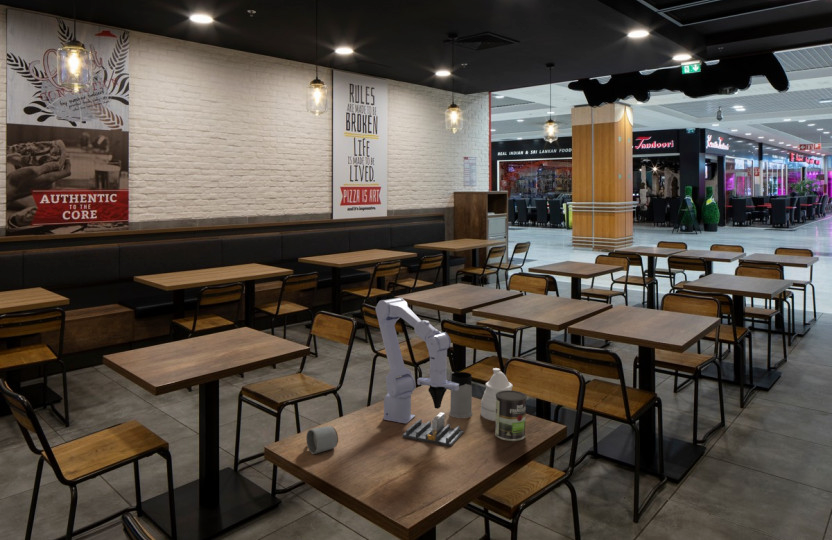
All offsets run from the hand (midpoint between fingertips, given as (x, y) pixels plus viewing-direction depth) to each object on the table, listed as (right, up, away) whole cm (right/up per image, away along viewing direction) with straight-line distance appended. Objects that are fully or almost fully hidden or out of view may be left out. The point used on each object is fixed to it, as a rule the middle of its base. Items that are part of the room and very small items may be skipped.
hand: (437, 407), depth 196 cm
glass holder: (+8, -7, +22) cm, 24 cm away
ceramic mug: (-38, -11, -11) cm, 41 cm away
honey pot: (+23, -7, +19) cm, 31 cm away
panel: (0, -9, -1) cm, 9 cm away
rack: (-1, -9, 0) cm, 10 cm away
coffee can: (+25, -10, 0) cm, 27 cm away
